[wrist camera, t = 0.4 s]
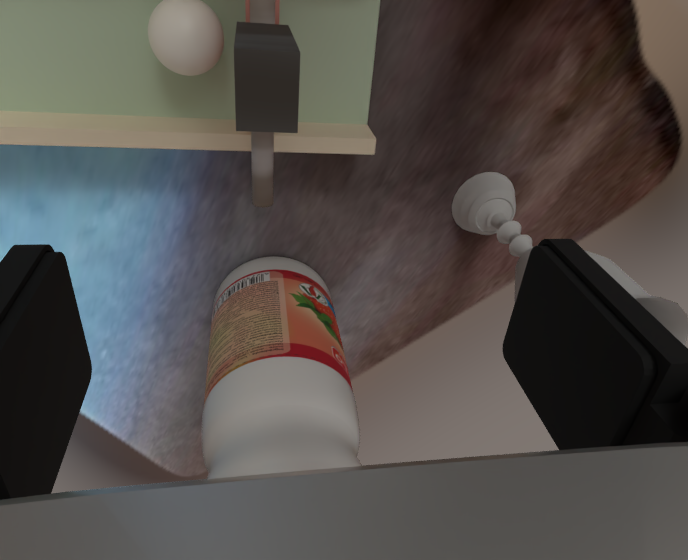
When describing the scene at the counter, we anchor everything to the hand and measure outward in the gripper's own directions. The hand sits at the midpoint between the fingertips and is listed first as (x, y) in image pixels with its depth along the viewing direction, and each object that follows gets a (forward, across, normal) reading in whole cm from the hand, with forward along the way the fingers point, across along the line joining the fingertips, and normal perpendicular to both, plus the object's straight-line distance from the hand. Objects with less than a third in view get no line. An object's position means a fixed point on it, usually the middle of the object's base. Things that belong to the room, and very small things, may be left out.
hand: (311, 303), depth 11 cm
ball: (+24, +4, -1) cm, 24 cm away
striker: (+25, 0, -1) cm, 25 cm away
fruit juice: (+27, 0, +19) cm, 33 cm away
